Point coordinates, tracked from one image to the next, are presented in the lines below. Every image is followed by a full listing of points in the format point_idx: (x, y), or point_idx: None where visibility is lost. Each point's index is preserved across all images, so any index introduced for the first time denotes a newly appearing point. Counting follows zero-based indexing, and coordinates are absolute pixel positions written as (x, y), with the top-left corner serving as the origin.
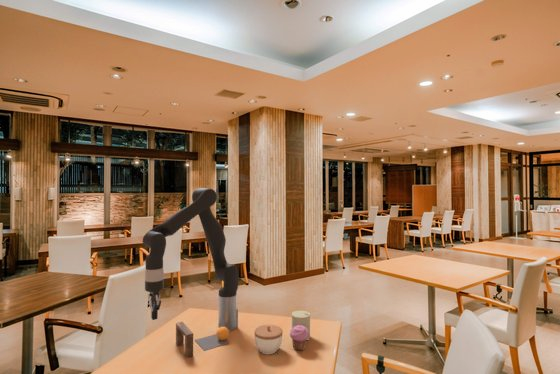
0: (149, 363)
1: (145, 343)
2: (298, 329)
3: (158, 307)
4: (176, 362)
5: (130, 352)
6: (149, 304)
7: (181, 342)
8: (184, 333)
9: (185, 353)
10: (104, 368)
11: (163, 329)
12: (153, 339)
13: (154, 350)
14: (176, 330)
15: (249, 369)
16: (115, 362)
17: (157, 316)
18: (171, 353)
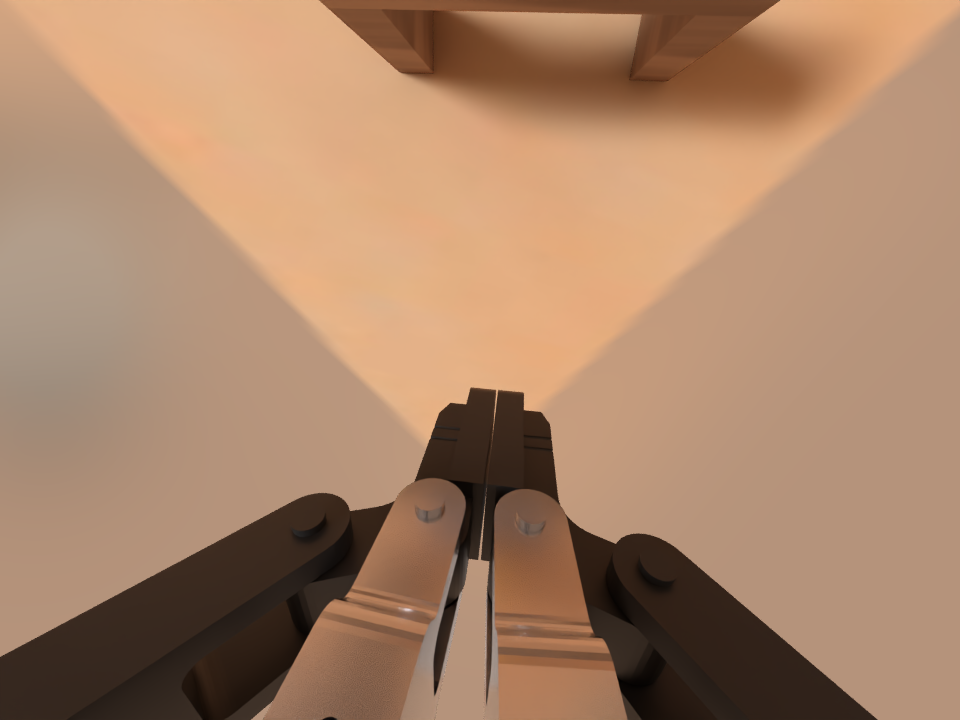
0: (553, 318)
1: (298, 265)
2: None
3: (768, 676)
4: (667, 177)
5: (372, 359)
6: (269, 626)
7: (428, 21)
8: (687, 3)
9: (652, 73)
10: None
11: (104, 75)
12: (259, 204)
13: (417, 247)
14: (370, 29)
15: None
16: None
17: (521, 407)
18: (525, 162)
